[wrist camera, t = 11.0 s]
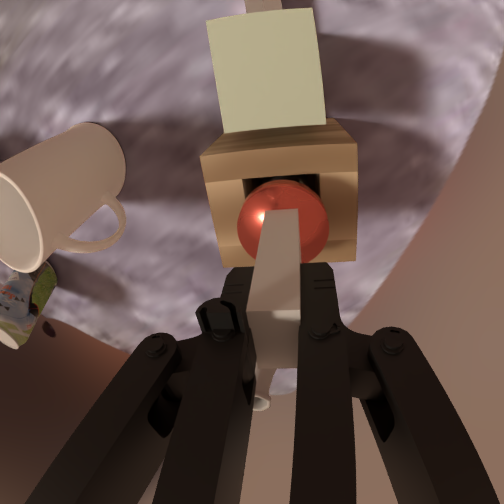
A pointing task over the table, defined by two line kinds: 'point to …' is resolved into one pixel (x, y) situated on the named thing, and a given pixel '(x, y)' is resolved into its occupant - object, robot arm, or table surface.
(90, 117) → the table surface
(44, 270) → the beverage can
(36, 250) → the mug
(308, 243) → the plunger
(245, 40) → the block
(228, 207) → the wooden boxy piece
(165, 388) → the robot arm
